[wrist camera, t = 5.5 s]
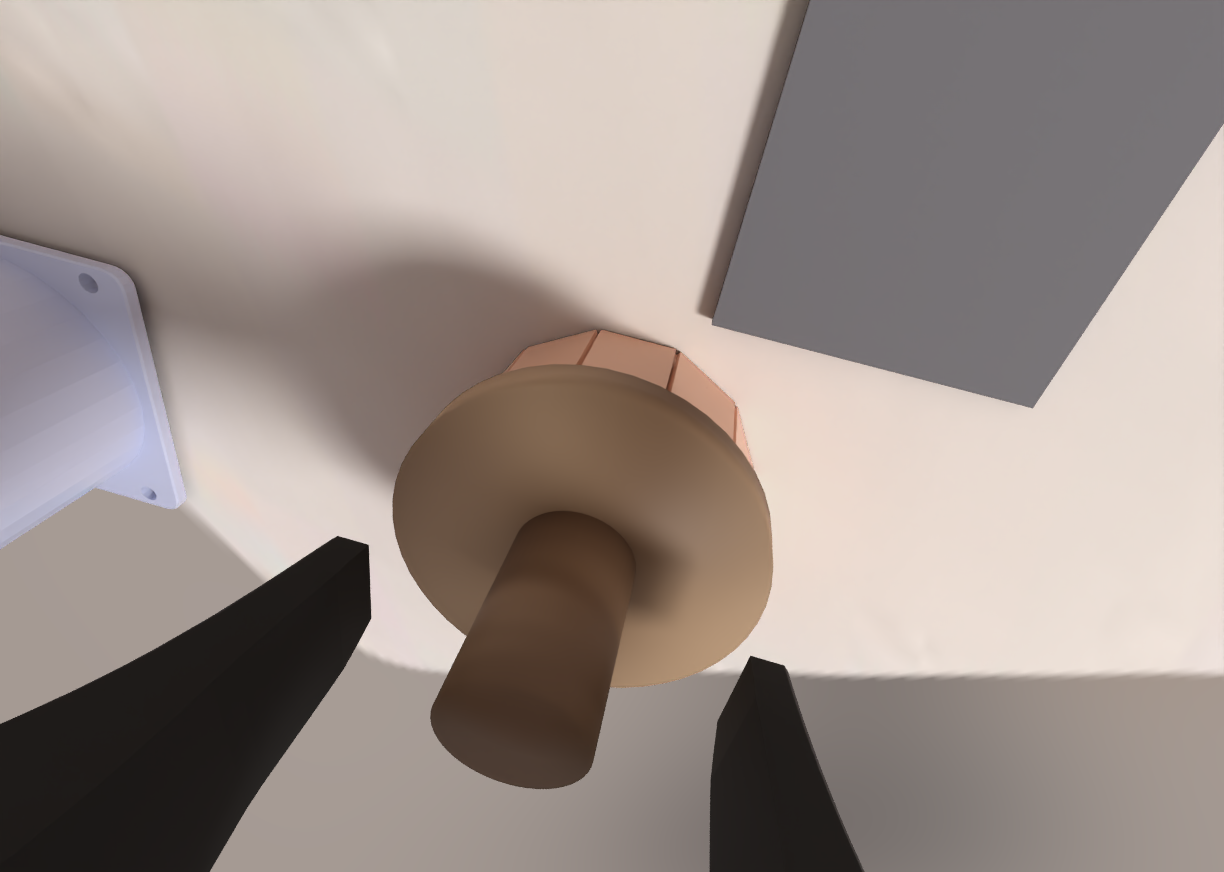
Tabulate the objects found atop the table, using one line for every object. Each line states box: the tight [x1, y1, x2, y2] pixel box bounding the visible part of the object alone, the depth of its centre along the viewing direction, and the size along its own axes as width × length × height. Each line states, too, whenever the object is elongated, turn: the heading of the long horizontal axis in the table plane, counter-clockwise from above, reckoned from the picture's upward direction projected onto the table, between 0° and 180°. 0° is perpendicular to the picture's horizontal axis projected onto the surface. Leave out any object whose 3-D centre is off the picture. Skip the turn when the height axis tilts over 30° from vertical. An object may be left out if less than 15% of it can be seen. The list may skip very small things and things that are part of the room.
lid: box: [393, 364, 773, 789], centre depth 11 cm, size 8×8×5 cm
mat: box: [712, 0, 1224, 408], centre depth 11 cm, size 7×7×1 cm
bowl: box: [503, 330, 754, 469], centre depth 15 cm, size 7×7×3 cm
